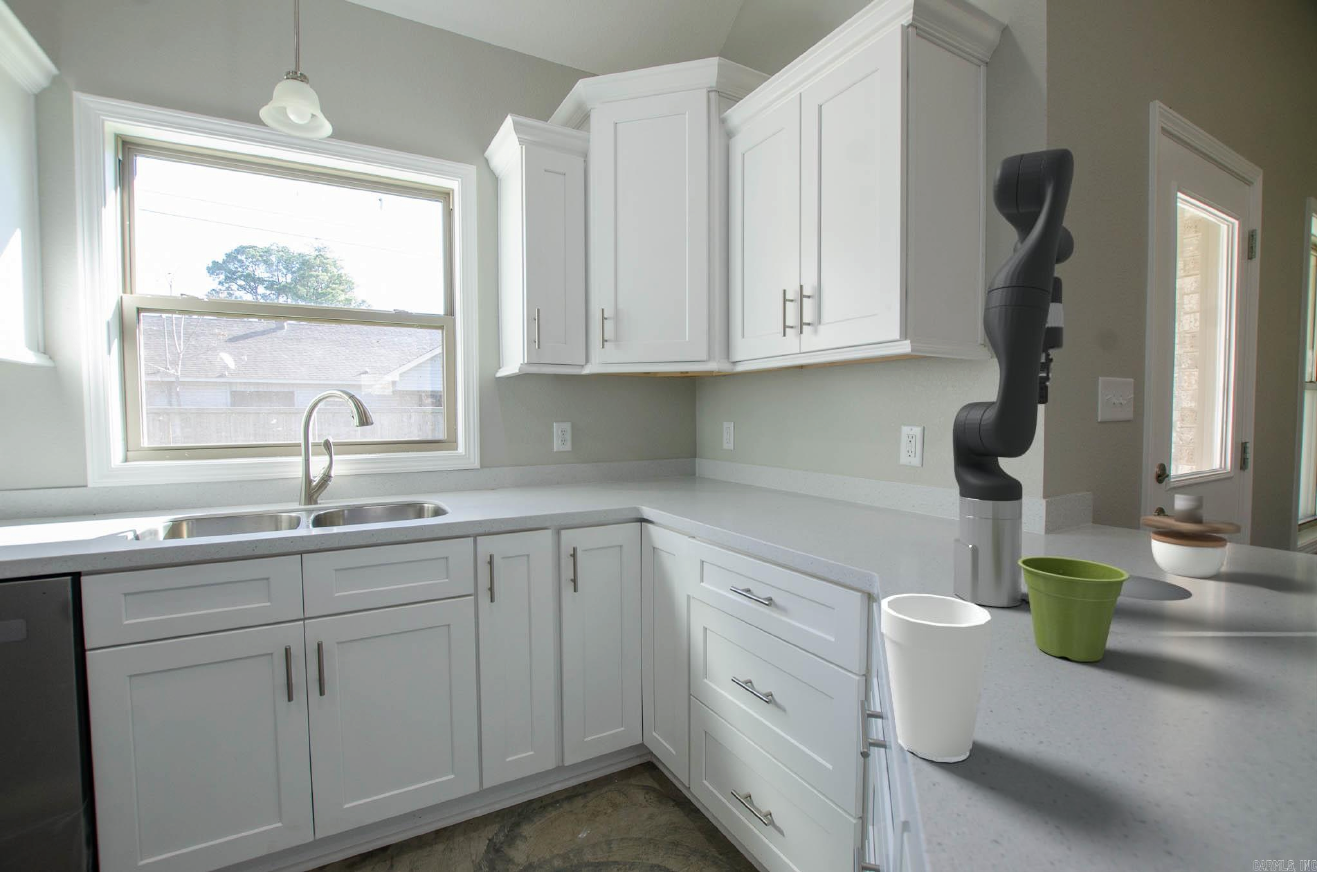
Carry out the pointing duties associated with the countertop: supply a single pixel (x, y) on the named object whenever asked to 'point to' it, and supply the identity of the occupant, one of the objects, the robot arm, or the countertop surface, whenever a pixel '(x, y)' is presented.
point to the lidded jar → (1188, 553)
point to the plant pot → (1072, 604)
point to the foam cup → (935, 669)
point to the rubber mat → (1152, 589)
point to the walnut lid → (1190, 518)
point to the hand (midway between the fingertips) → (1041, 404)
